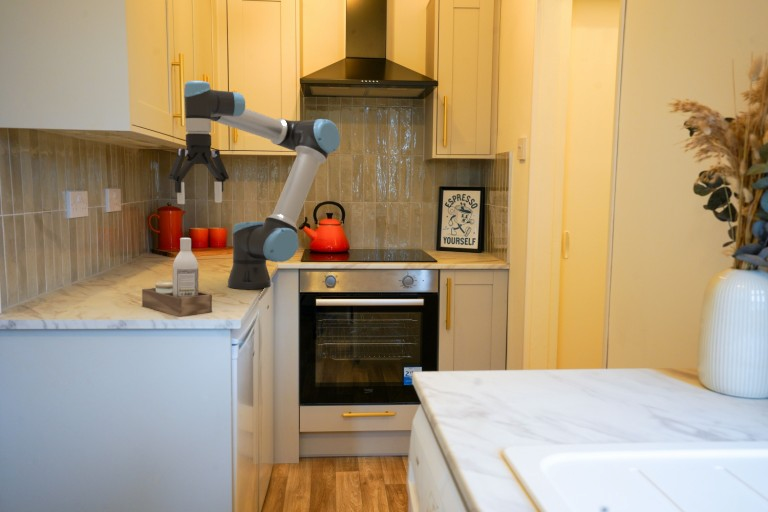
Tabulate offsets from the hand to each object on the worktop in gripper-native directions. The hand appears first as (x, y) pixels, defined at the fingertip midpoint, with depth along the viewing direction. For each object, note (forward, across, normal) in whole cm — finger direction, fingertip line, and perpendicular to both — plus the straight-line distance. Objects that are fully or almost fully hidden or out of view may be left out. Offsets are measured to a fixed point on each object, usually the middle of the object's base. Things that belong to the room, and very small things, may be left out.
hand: (200, 203), depth 204 cm
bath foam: (+29, +15, +13) cm, 35 cm away
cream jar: (+30, +15, +3) cm, 33 cm away
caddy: (+30, +15, +8) cm, 34 cm away
